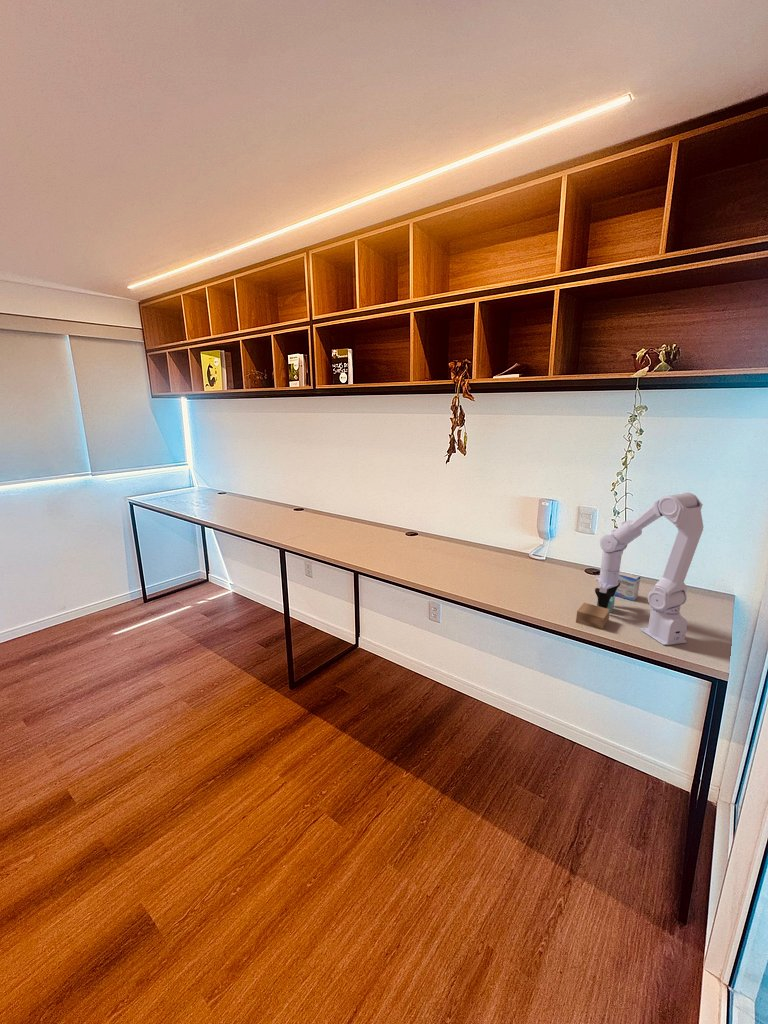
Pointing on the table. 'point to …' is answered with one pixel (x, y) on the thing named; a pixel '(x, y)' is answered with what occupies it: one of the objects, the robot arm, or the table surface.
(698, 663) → the table surface
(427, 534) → the table surface
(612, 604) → the teal cube
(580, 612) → the walnut block
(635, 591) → the medicine box
